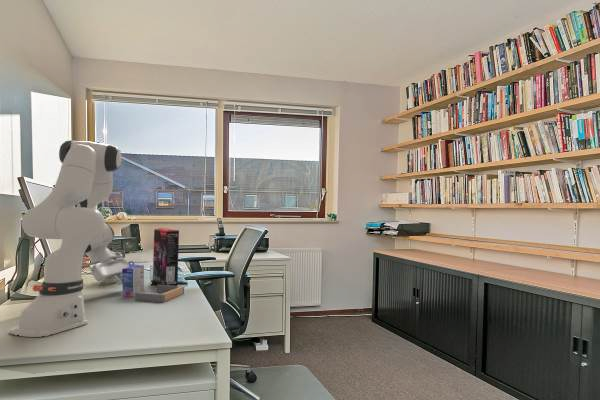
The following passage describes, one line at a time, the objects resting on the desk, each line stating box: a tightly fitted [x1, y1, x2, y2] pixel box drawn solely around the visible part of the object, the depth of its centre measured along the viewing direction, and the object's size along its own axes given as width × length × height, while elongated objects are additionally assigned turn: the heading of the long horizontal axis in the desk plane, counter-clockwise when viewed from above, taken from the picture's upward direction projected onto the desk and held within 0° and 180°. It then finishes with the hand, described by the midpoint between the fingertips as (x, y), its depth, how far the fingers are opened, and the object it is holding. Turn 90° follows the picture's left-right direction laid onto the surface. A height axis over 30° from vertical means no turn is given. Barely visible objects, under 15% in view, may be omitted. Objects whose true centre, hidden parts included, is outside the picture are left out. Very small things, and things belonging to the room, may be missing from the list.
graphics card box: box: [152, 227, 180, 286], centre depth 201 cm, size 17×7×27 cm, turn 40°
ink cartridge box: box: [122, 260, 145, 298], centre depth 180 cm, size 10×6×14 cm, turn 174°
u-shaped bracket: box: [134, 284, 185, 303], centre depth 177 cm, size 17×13×3 cm
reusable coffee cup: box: [101, 249, 126, 284], centre depth 206 cm, size 13×13×15 cm
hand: (122, 283), depth 181 cm, fingers closed
